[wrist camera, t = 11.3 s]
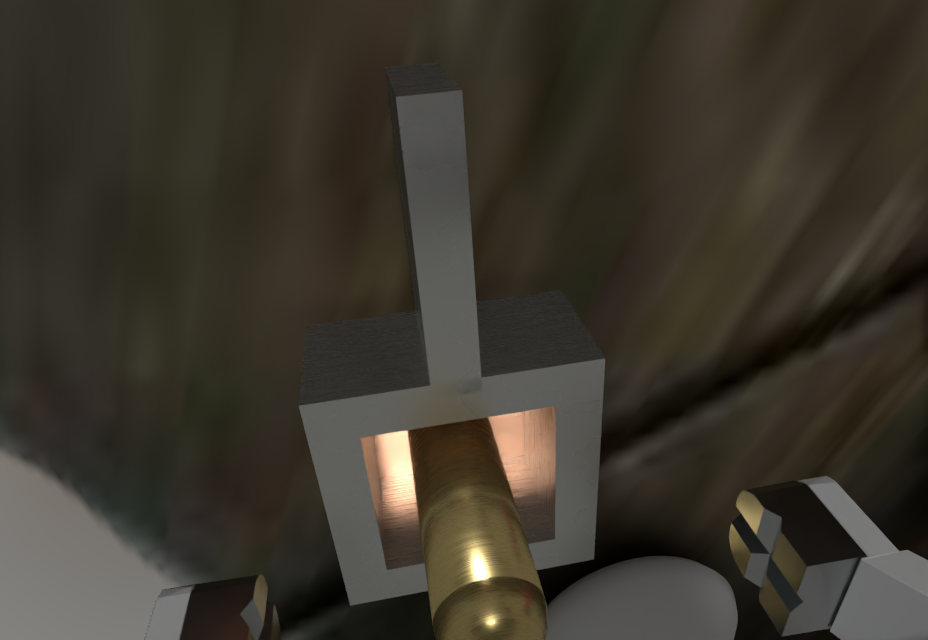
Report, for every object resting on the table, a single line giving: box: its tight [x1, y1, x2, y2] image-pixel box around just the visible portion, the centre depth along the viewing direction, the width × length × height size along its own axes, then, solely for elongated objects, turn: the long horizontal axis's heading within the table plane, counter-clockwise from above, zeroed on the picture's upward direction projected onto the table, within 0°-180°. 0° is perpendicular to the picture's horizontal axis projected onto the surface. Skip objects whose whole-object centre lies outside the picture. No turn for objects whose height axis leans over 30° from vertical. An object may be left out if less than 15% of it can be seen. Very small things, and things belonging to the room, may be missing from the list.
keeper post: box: [373, 412, 549, 640], centre depth 21 cm, size 8×8×11 cm
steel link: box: [299, 62, 605, 606], centre depth 20 cm, size 17×9×4 cm, turn 4°
